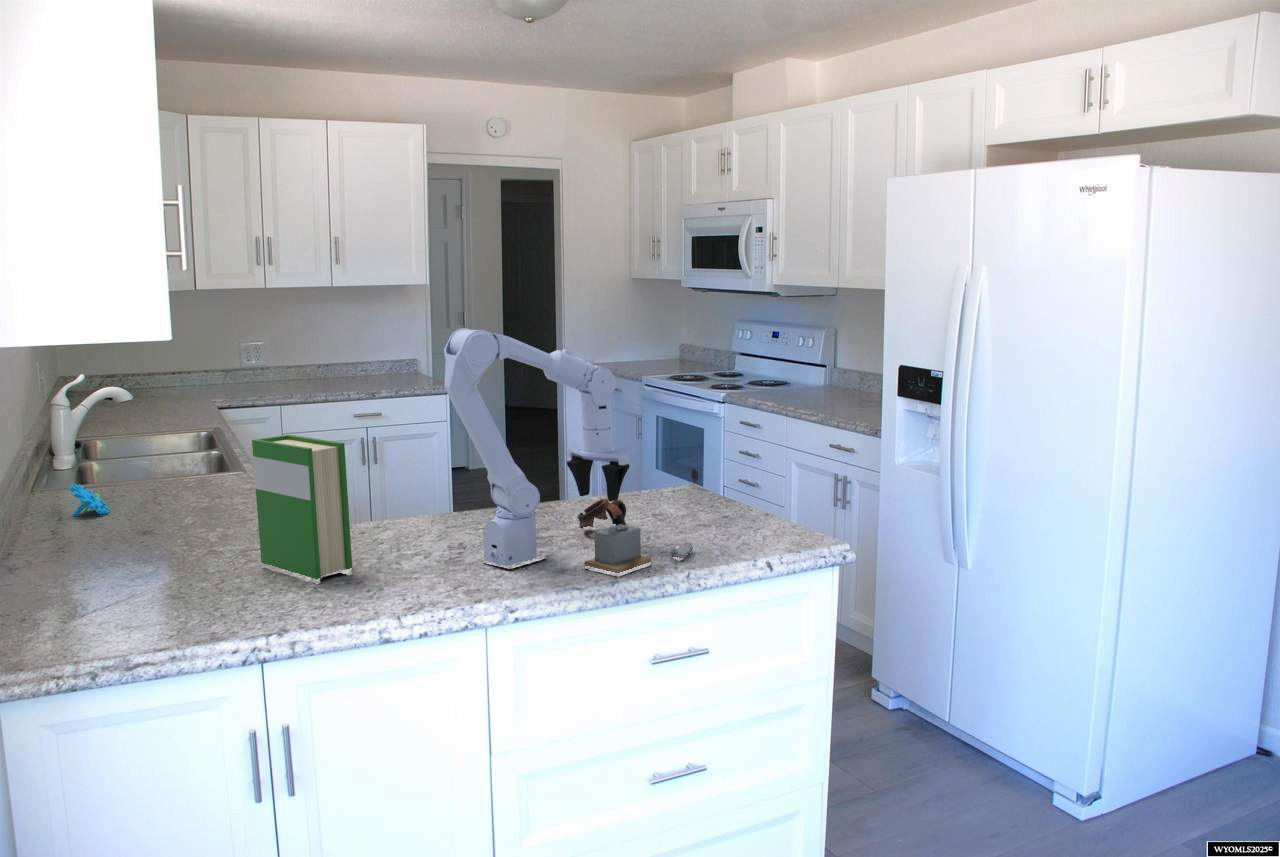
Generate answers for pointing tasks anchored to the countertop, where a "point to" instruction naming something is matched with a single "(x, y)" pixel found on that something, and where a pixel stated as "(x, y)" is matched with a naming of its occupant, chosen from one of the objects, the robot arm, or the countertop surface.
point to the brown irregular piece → (603, 513)
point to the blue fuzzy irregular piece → (88, 500)
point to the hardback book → (302, 504)
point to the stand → (619, 567)
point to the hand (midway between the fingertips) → (598, 497)
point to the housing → (617, 545)
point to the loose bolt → (681, 551)
